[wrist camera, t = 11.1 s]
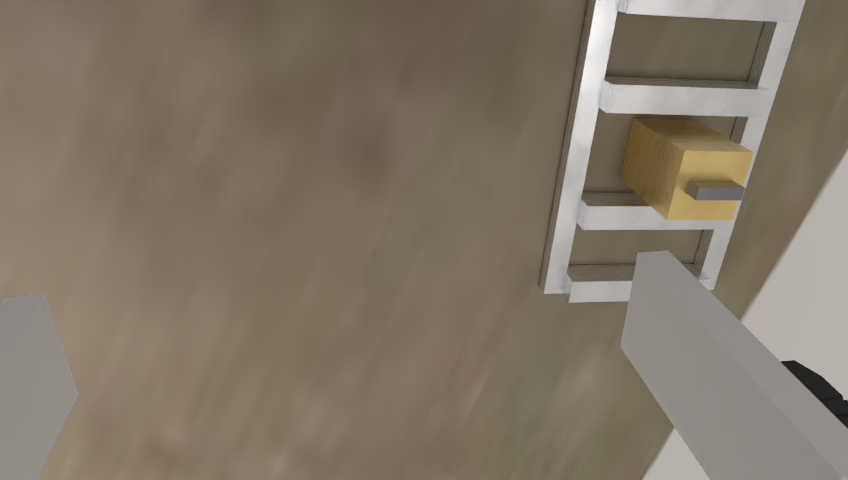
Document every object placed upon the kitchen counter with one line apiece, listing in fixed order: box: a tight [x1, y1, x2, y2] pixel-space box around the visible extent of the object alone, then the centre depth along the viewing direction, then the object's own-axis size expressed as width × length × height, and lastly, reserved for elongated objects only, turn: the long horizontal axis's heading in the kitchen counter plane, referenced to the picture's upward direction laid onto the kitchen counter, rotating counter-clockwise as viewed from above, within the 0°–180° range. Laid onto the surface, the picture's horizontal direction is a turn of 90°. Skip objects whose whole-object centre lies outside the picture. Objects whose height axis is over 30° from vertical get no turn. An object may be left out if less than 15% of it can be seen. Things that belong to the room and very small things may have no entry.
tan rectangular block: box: [619, 118, 754, 220], centre depth 41 cm, size 4×4×8 cm
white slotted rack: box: [539, 0, 805, 302], centre depth 43 cm, size 22×14×2 cm, turn 176°
